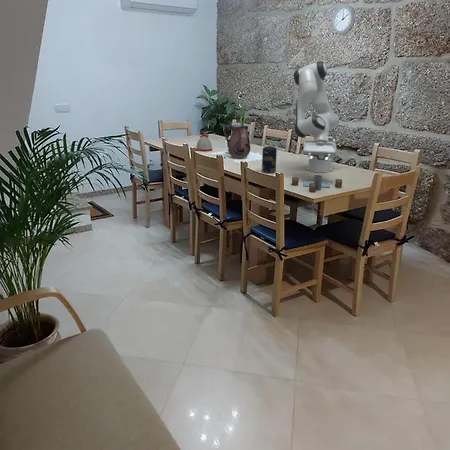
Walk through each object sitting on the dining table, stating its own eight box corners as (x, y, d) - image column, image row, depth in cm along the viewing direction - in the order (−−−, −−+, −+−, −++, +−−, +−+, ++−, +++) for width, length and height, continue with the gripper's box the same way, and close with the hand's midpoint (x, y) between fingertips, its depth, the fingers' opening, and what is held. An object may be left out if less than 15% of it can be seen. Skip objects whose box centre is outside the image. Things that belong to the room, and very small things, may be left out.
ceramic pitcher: (250, 160, 331) (251, 127, 322) (223, 159, 331) (223, 127, 323) (249, 155, 347) (250, 124, 339) (223, 155, 348) (224, 124, 339)
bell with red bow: (209, 152, 361) (209, 134, 356) (194, 151, 364) (193, 133, 359) (213, 149, 374) (213, 131, 369) (198, 148, 377) (198, 131, 372)
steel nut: (313, 187, 257) (314, 174, 254) (320, 188, 256) (321, 175, 253) (313, 190, 252) (314, 176, 249) (320, 190, 252) (322, 177, 249)
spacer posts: (291, 183, 265) (292, 176, 263) (341, 186, 260) (342, 179, 259) (291, 191, 249) (291, 183, 247) (344, 194, 245) (345, 186, 243)
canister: (278, 172, 294) (279, 146, 288) (270, 174, 288) (271, 147, 281) (267, 169, 300) (268, 144, 294) (259, 172, 293) (259, 146, 287)
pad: (303, 181, 270) (303, 180, 270) (328, 182, 268) (328, 181, 268) (303, 186, 259) (303, 185, 259) (330, 187, 257) (330, 186, 257)
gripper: (303, 137, 266) (301, 156, 260) (337, 139, 261) (335, 158, 255) (304, 143, 271) (301, 162, 266) (337, 145, 266) (335, 164, 261)
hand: (318, 160), depth 260 cm, fingers open, 8 cm apart
